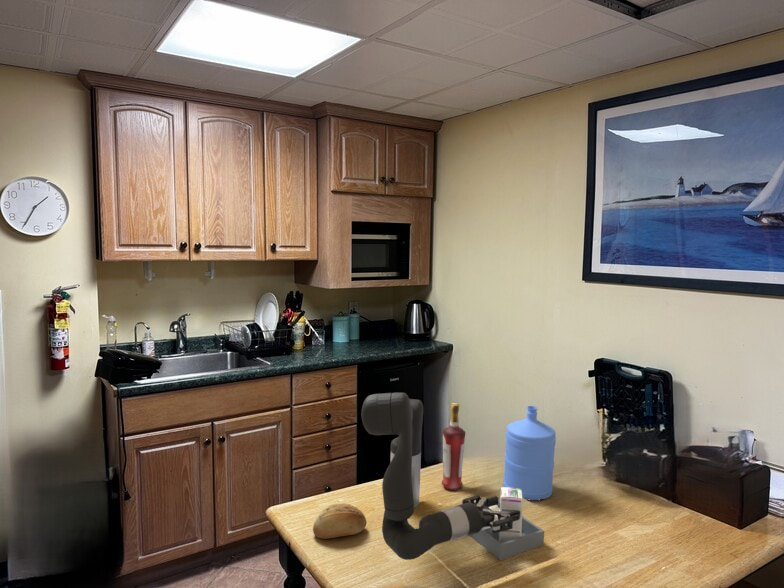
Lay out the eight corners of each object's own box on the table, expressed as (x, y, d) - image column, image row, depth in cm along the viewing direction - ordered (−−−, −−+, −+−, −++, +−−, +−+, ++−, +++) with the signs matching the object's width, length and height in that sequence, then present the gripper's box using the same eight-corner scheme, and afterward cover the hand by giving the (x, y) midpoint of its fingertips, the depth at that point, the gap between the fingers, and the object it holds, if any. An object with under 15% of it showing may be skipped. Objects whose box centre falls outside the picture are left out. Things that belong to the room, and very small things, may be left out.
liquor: (438, 481, 185) (441, 401, 182) (460, 481, 186) (463, 400, 183) (443, 492, 178) (446, 408, 175) (465, 491, 179) (469, 408, 175)
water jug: (558, 502, 173) (563, 416, 170) (508, 501, 173) (512, 415, 170) (545, 480, 189) (550, 400, 185) (499, 478, 189) (503, 399, 185)
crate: (453, 526, 158) (454, 509, 158) (494, 513, 166) (495, 498, 165) (499, 563, 141) (500, 545, 140) (543, 548, 148) (544, 530, 148)
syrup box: (521, 550, 145) (524, 498, 143) (498, 547, 146) (500, 496, 144) (519, 538, 151) (522, 488, 149) (497, 536, 152) (500, 486, 150)
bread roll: (371, 539, 151) (371, 511, 150) (316, 547, 146) (317, 519, 145) (361, 521, 160) (362, 494, 159) (310, 528, 155) (310, 501, 154)
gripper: (477, 521, 132) (527, 505, 140) (443, 495, 145) (491, 482, 153) (475, 550, 133) (526, 533, 141) (442, 522, 146) (490, 508, 154)
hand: (508, 506), depth 147 cm, fingers open, 8 cm apart
